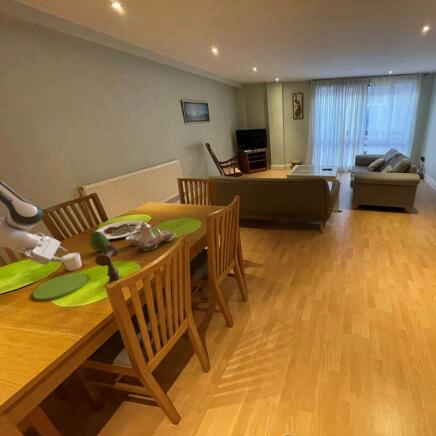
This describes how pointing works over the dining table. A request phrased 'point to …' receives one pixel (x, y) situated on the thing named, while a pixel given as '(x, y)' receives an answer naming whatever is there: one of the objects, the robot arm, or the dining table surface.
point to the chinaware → (149, 237)
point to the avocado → (98, 241)
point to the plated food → (120, 229)
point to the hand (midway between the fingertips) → (65, 257)
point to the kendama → (109, 261)
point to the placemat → (60, 286)
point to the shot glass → (72, 261)
